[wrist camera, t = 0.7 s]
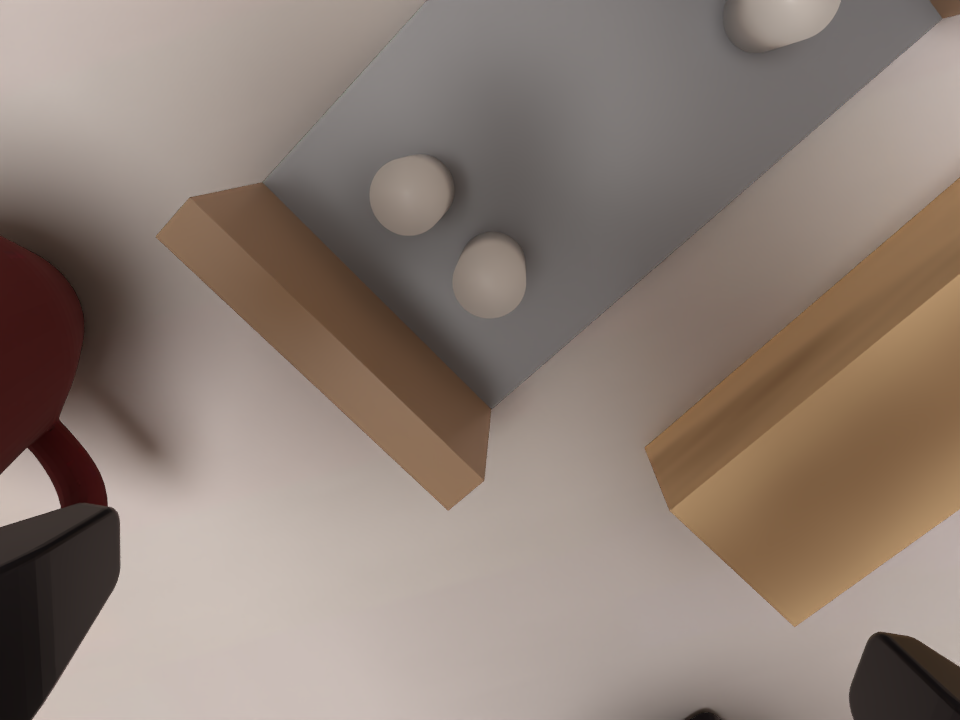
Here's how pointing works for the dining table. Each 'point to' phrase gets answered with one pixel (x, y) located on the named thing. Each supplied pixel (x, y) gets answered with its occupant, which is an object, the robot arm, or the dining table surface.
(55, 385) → the mug
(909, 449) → the tan wooden block
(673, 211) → the peg stand
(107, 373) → the dining table surface
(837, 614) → the dining table surface
